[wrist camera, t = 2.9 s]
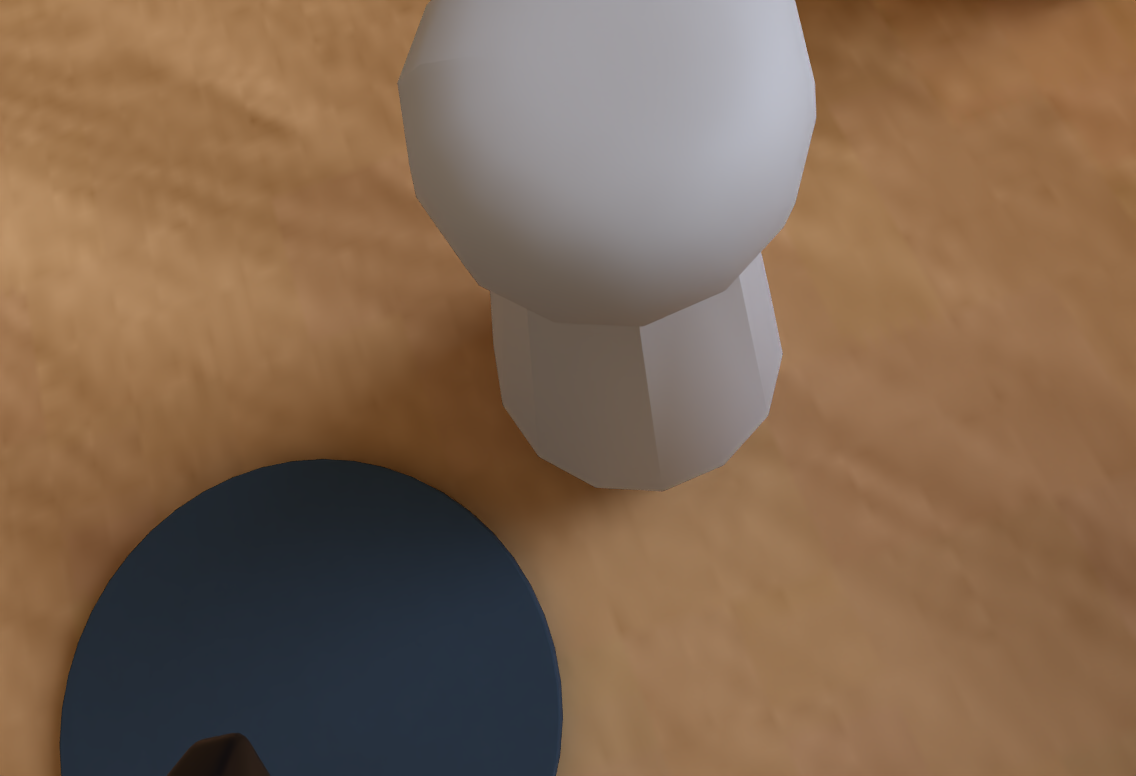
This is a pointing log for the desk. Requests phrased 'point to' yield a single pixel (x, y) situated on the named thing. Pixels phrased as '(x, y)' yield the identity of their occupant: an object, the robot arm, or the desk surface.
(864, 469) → the desk surface
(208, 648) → the coaster
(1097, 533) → the desk surface
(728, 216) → the salt shaker
